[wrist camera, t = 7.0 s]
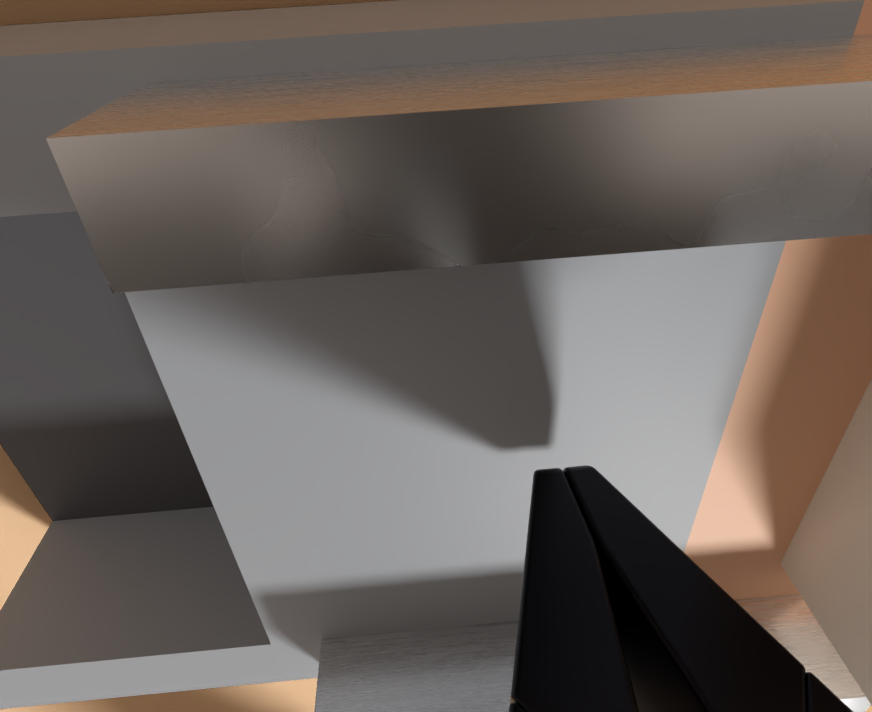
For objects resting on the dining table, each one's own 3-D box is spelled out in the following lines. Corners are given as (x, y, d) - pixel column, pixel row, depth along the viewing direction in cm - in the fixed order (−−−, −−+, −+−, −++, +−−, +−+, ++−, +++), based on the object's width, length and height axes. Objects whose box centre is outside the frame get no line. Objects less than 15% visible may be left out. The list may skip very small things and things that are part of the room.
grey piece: (1184, -50, 9) (1634, -51, 6) (880, 475, 16) (1007, 609, 13) (-251, 42, 8) (-655, 99, 5) (82, 548, 15) (0, 709, 12)
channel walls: (1140, 15, 6) (1435, 41, 4) (792, 624, 12) (853, 725, 11) (145, 83, 6) (46, 138, 4) (330, 669, 12) (322, 781, 11)
